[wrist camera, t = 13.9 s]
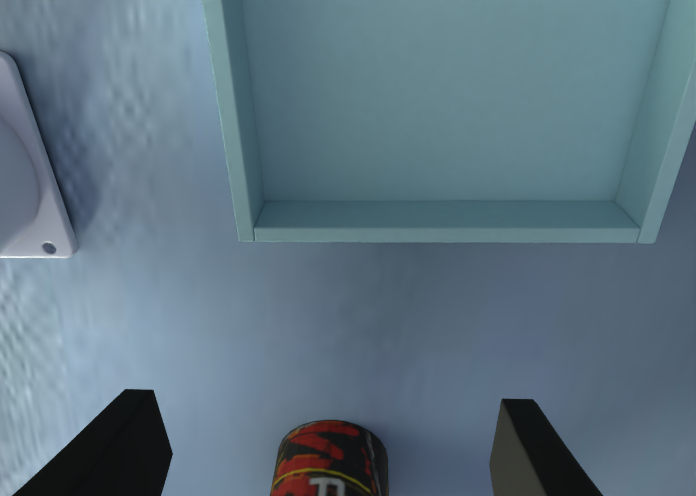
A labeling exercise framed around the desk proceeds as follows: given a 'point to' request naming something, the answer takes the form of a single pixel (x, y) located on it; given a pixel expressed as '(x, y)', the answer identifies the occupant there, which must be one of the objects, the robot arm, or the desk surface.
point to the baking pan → (453, 117)
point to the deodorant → (331, 462)
